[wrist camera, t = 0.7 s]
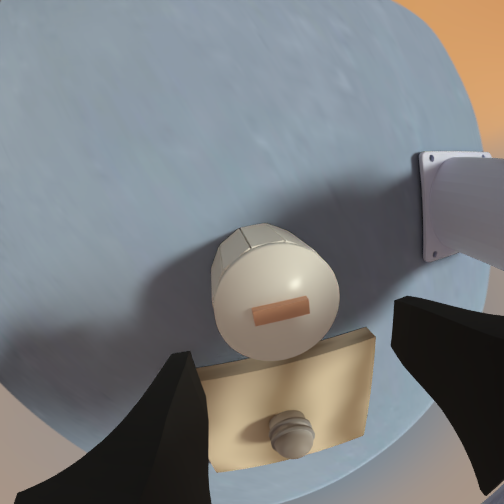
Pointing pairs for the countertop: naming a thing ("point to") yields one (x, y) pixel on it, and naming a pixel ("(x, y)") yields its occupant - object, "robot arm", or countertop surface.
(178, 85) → the countertop surface
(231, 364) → the post board
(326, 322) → the cream short cylinder
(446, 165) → the robot arm
